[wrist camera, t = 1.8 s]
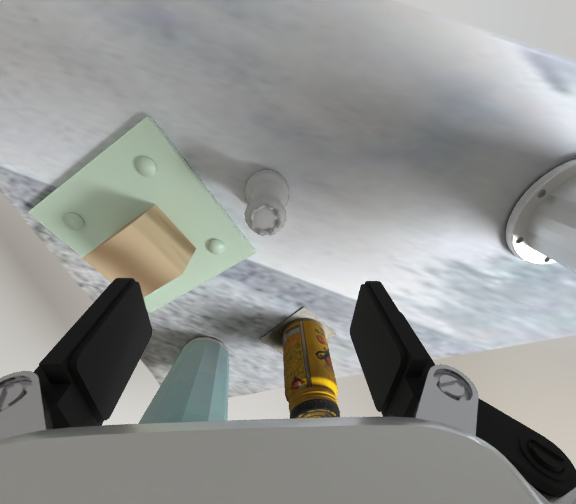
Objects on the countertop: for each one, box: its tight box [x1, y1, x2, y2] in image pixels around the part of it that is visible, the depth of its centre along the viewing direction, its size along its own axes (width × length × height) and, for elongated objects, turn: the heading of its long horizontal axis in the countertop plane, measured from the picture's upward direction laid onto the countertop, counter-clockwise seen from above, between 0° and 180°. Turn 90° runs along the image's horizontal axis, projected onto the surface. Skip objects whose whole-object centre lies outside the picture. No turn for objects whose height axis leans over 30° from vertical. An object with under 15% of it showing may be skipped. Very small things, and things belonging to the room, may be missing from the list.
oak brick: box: [83, 204, 196, 298], centre depth 25 cm, size 6×6×5 cm
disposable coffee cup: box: [138, 337, 229, 424], centre depth 31 cm, size 11×11×15 cm
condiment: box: [259, 308, 340, 419], centre depth 32 cm, size 7×8×12 cm
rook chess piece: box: [245, 170, 289, 236], centre depth 23 cm, size 4×4×8 cm
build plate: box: [28, 116, 255, 313], centre depth 27 cm, size 16×16×1 cm
